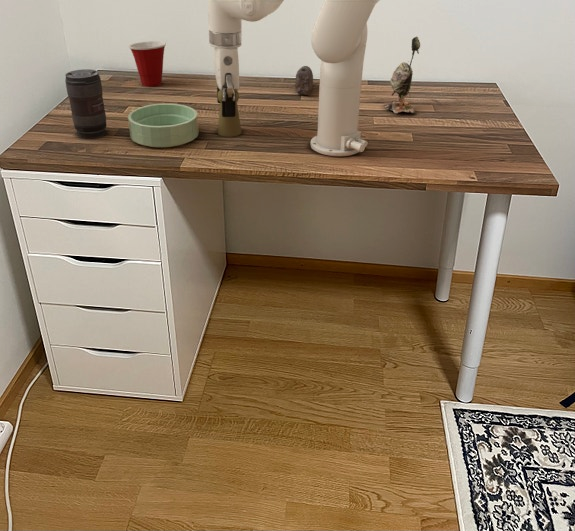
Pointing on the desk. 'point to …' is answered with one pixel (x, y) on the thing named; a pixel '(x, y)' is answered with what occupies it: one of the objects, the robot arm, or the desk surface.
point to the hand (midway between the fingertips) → (226, 109)
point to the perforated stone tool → (304, 80)
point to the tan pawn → (229, 119)
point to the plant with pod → (403, 83)
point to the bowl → (163, 125)
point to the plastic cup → (149, 61)
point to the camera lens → (86, 102)
